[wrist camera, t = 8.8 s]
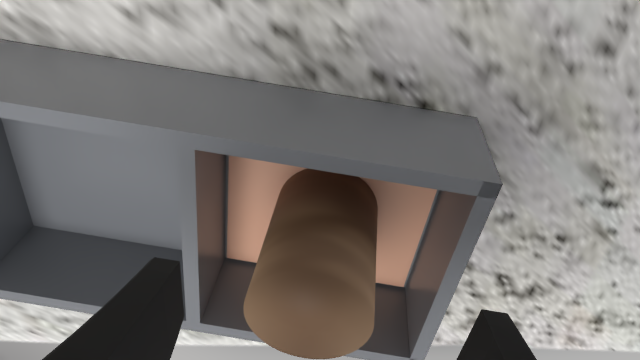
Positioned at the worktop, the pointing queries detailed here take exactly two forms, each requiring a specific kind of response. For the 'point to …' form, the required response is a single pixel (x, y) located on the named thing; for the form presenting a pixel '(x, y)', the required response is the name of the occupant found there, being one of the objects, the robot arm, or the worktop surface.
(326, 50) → the worktop surface
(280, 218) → the walnut cylinder
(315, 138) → the organiser
